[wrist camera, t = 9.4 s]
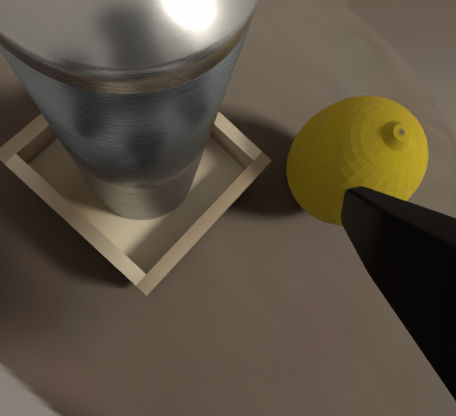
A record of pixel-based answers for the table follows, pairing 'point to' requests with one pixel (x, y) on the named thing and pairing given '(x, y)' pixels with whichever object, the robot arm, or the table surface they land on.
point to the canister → (128, 87)
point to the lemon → (356, 154)
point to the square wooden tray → (128, 228)
